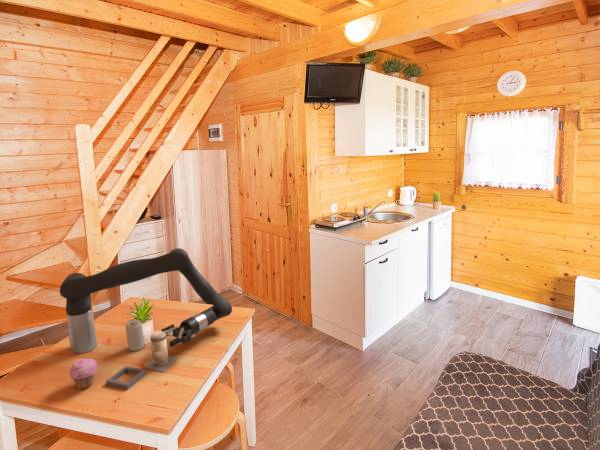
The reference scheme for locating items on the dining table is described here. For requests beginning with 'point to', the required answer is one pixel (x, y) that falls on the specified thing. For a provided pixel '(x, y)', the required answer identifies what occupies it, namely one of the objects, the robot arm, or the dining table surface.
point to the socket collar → (112, 380)
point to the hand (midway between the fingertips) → (163, 341)
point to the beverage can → (135, 335)
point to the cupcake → (83, 372)
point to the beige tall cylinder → (159, 348)
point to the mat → (161, 368)
